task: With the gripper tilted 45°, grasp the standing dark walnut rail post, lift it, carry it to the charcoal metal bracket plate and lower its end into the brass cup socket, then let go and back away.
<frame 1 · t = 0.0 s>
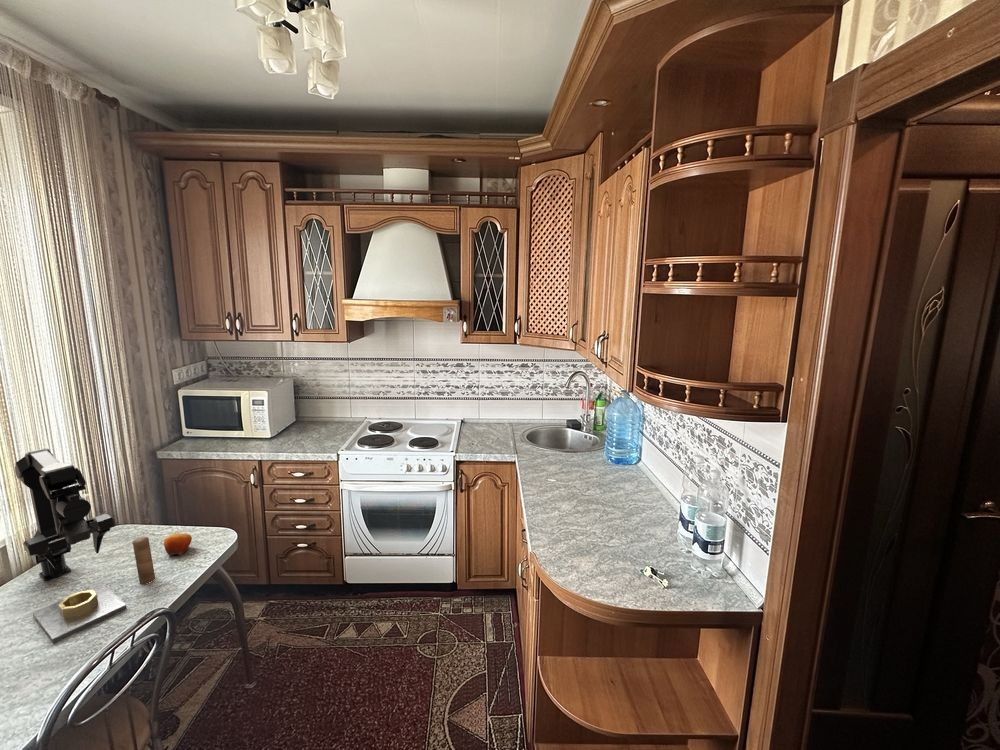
hand: (77, 560, 136), 15 cm above the table, tool pointing down, fingers open, 9 cm apart
fruit: (179, 552, 166), on the table
cup bracket: (80, 613, 136), on the table
rail post: (147, 580, 150), on the table
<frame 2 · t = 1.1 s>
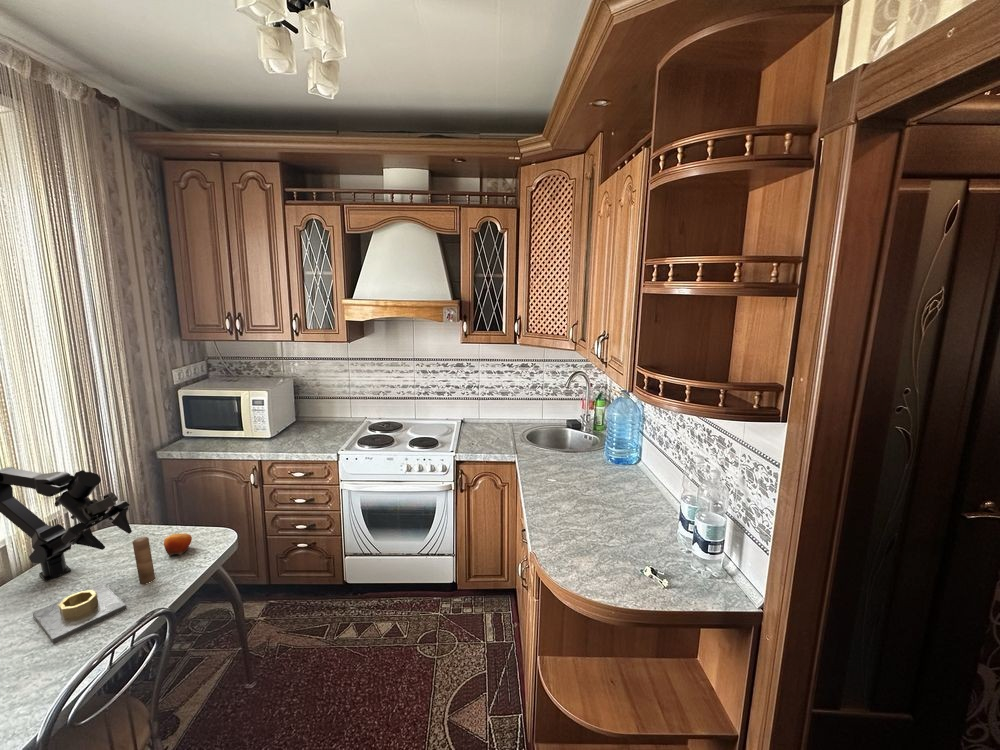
hand: (117, 540, 149), 13 cm above the table, tool tilted 45°, fingers open, 9 cm apart
nothing on the table moved.
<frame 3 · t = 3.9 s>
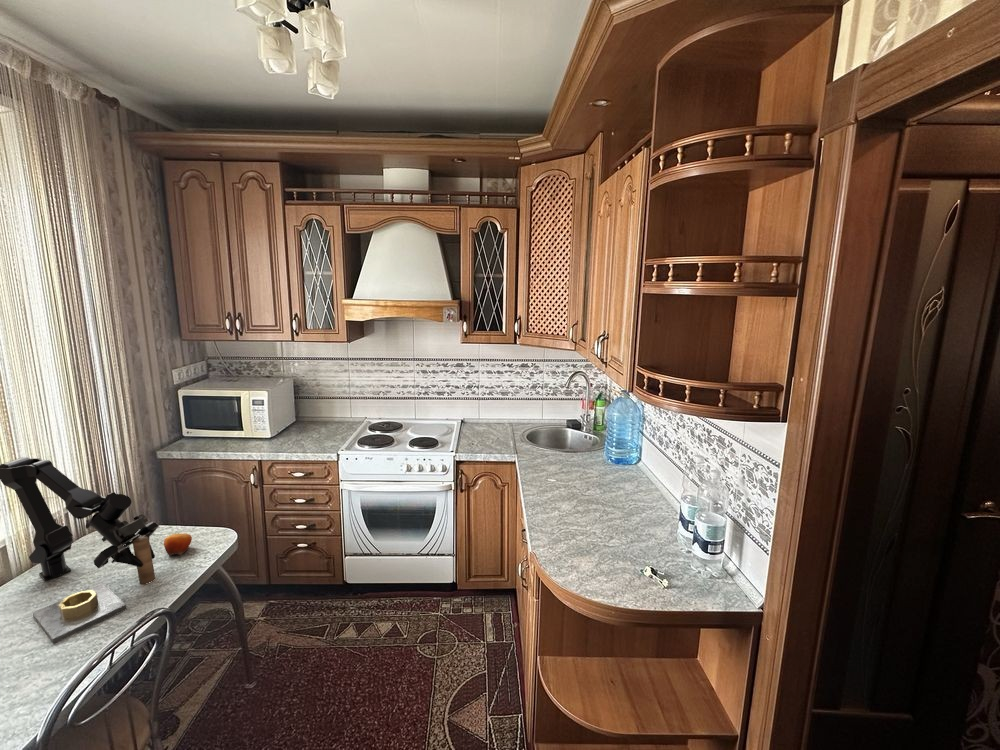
hand: (148, 562, 149), 7 cm above the table, tool tilted 45°, fingers closed on rail post, 4 cm apart
rail post: (147, 580, 150), on the table, touching gripper
everything else where it was.
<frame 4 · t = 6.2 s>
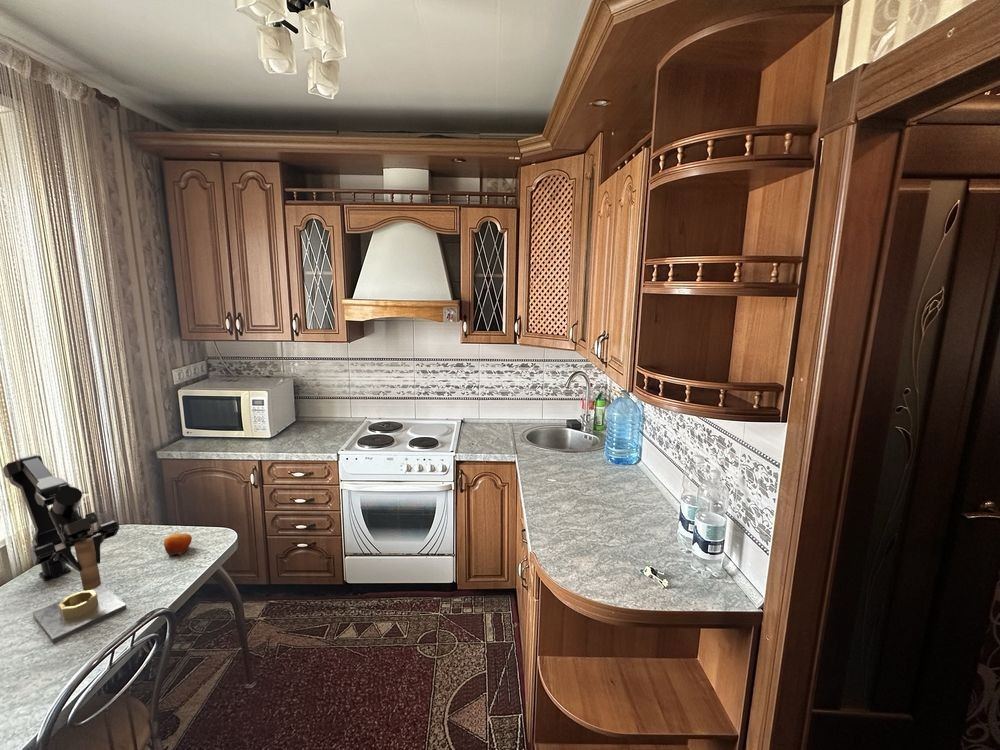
hand: (89, 566, 135), 13 cm above the table, tool tilted 45°, fingers closed on rail post, 4 cm apart
rail post: (92, 586, 137), point 7 cm above the table, touching gripper
everything else where it was.
when the fingers open (9 cm above the table, at t = 8.3 s): rail post drops 1 cm, resting on cup bracket.
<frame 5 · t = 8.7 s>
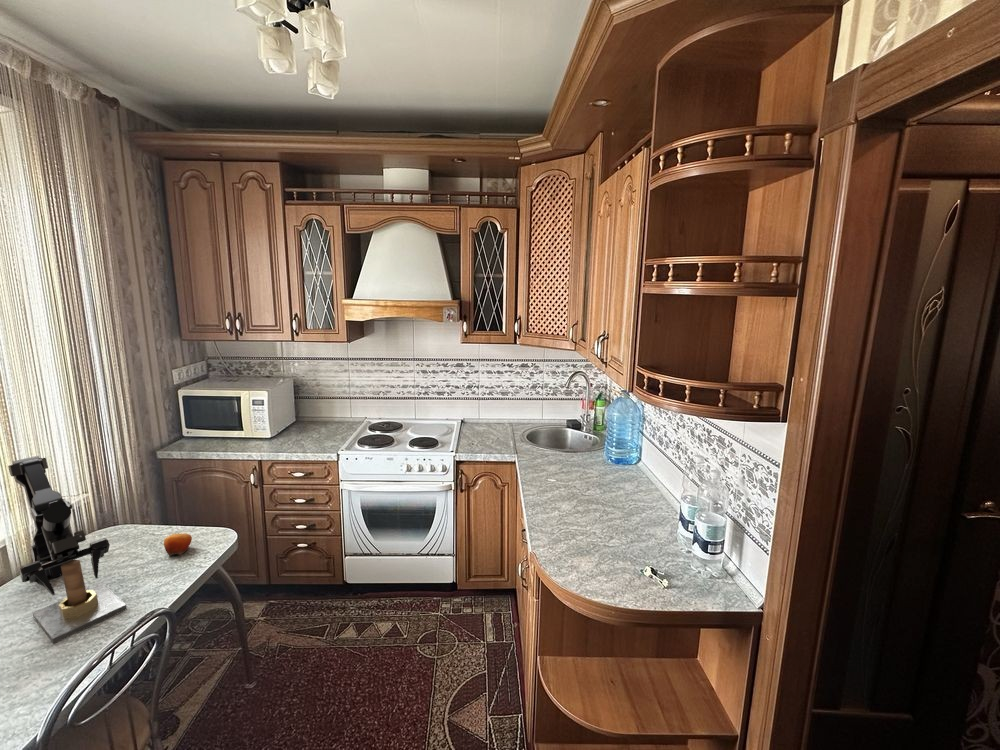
hand: (75, 586, 133), 9 cm above the table, tool tilted 45°, fingers open, 9 cm apart
rail post: (79, 608, 136), point 2 cm above the table, touching cup bracket
everything else where it was.
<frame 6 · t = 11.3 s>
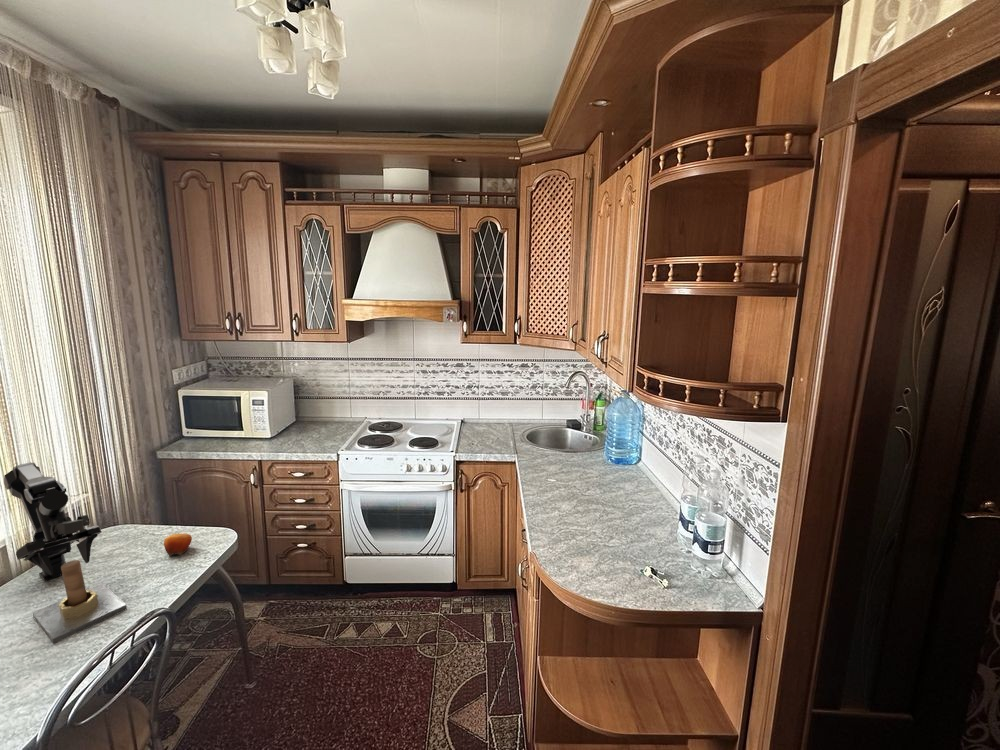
hand: (70, 568, 140), 10 cm above the table, tool tilted 35°, fingers open, 9 cm apart
nothing on the table moved.
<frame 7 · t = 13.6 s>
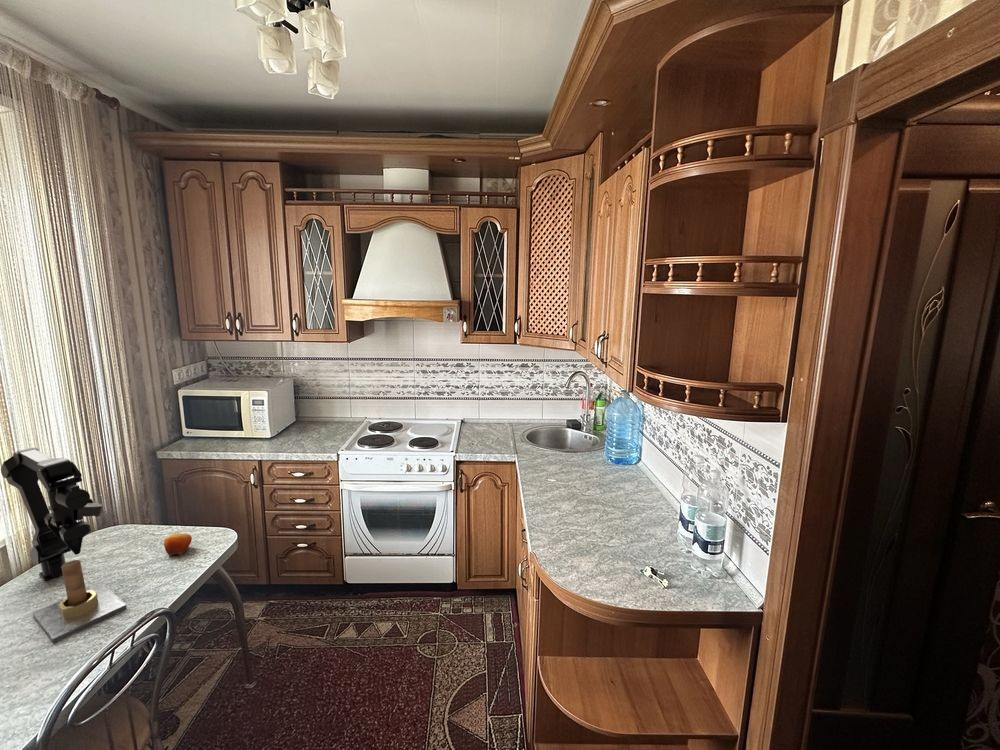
hand: (72, 549, 145), 13 cm above the table, tool pointing down, fingers open, 9 cm apart
nothing on the table moved.
at the end: rail post 0.0 cm off-centre on the cup bracket, point 1.5 cm above the cup bracket's base; rail post tilted 0°; the gripper is holding nothing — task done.
